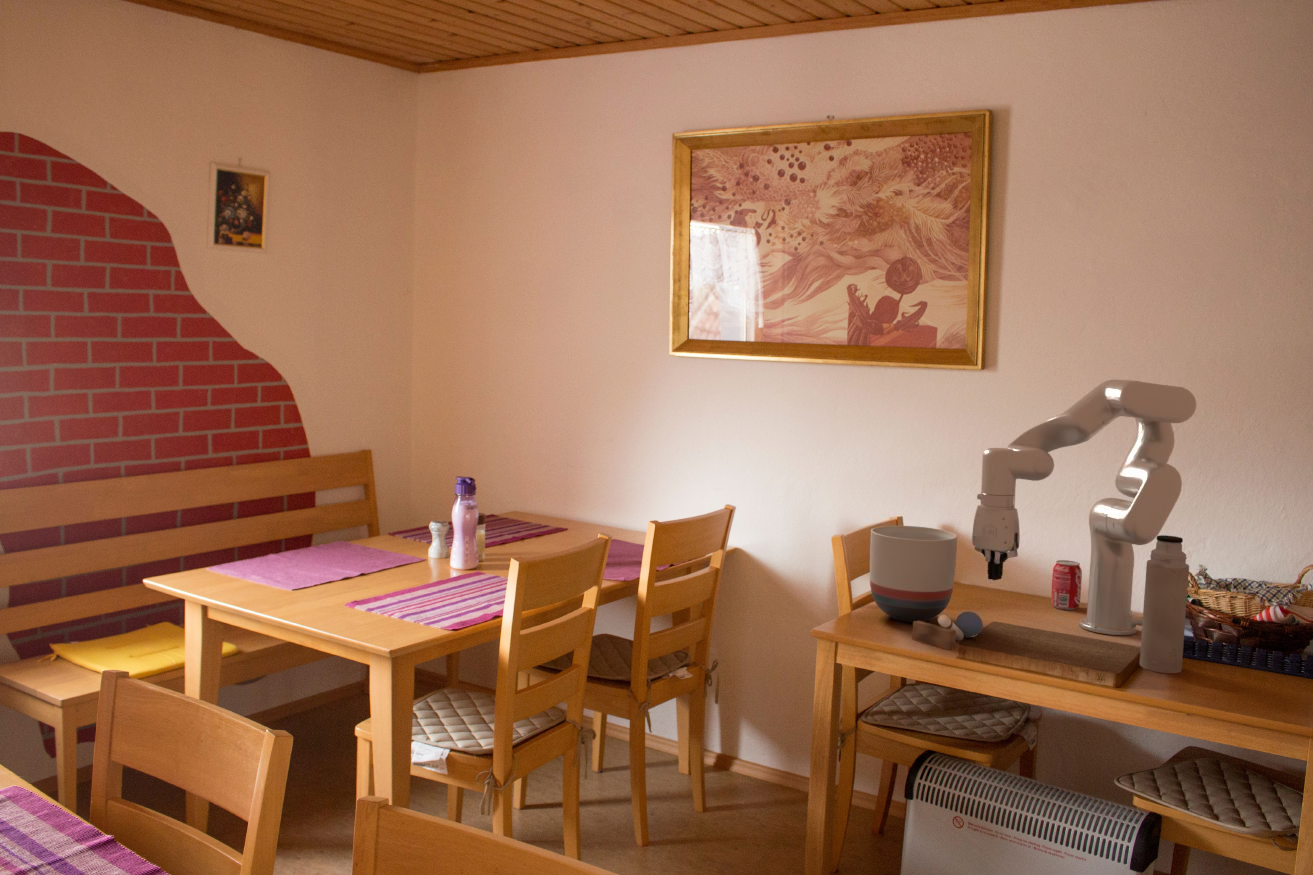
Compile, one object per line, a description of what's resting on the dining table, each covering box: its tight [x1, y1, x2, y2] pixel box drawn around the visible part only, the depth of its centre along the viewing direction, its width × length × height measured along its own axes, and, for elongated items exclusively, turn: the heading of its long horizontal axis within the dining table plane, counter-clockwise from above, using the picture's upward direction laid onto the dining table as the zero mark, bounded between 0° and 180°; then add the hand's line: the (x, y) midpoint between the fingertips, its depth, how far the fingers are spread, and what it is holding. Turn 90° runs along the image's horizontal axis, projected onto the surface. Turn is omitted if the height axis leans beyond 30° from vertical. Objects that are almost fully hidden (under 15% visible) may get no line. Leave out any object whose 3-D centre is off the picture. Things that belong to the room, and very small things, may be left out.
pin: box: [937, 614, 965, 642], centre depth 229 cm, size 2×2×8 cm
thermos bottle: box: [1139, 534, 1190, 674], centre depth 214 cm, size 8×8×28 cm
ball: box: [954, 610, 984, 639], centre depth 234 cm, size 6×6×6 cm
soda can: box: [1050, 559, 1083, 611], centre depth 266 cm, size 7×7×12 cm
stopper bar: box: [911, 621, 956, 651], centre depth 228 cm, size 10×2×4 cm, turn 39°
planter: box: [869, 525, 958, 623], centre depth 249 cm, size 20×20×21 cm
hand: (994, 578), depth 239 cm, fingers closed
